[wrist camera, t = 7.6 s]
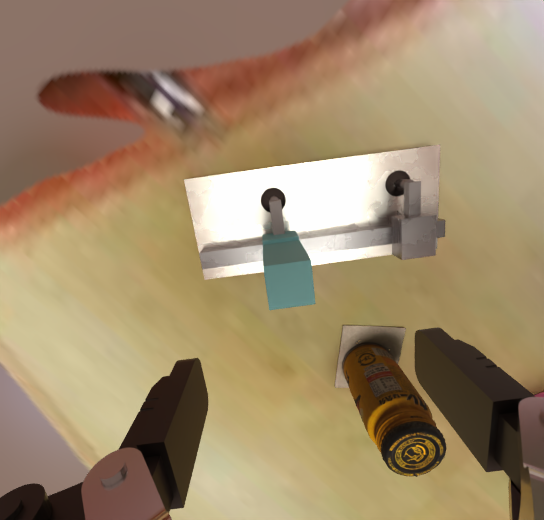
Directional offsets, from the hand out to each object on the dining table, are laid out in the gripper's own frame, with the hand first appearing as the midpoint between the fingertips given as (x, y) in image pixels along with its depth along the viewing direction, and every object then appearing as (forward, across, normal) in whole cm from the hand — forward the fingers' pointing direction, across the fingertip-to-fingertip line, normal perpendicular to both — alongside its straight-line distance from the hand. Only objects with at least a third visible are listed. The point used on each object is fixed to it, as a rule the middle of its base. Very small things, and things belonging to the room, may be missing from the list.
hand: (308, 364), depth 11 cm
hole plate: (+21, -4, -3) cm, 21 cm away
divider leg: (+19, 0, -2) cm, 19 cm away
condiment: (+21, -9, +15) cm, 27 cm away
